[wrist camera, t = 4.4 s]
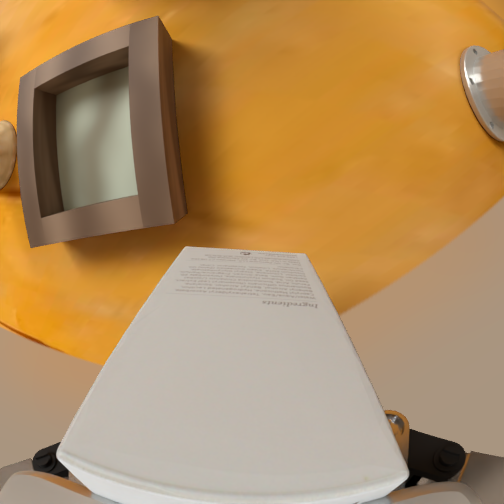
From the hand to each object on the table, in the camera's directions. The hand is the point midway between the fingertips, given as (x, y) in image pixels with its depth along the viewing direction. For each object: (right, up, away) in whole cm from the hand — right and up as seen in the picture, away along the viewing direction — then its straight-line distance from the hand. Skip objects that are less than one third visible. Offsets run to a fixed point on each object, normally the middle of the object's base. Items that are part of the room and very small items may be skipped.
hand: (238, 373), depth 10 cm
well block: (-13, +15, +10) cm, 22 cm away
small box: (0, +1, +4) cm, 4 cm away
